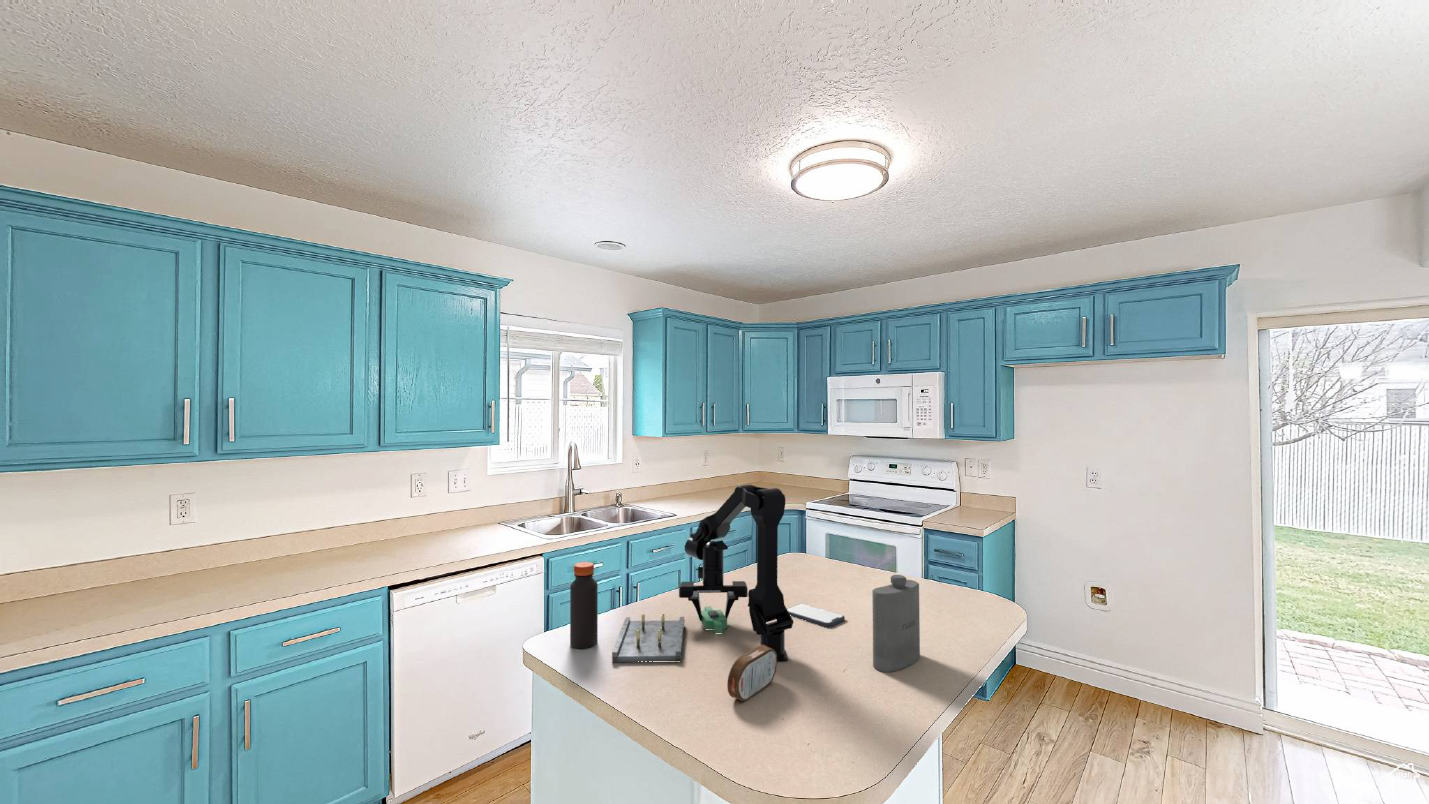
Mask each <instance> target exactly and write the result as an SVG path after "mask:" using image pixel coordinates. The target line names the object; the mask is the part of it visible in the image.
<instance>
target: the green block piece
mask: <svg viewBox="0 0 1429 804" xmlns="http://www.w3.org/2000/svg"><path fill="white" fill-rule="evenodd" d="M701 614H702V621H701V622H702V623H701V622H700V623H701V625H702V624H703V625H702V627H703V626H704V627H703V629H704V628H705V629H714V630H713V632H714V631H715V632H714V634H715V633H723V630H724V629H723V628H727V629H728V618H726V617H725V613H724V612H723V611H722V610H721V609H713V608H712V606H704V610H701ZM705 629H704V630H705Z"/></svg>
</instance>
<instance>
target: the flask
mask: <svg viewBox="0 0 1429 804" xmlns="http://www.w3.org/2000/svg"><path fill="white" fill-rule="evenodd" d="M871 595H872V667H874V669H876V670H877V671H880V672H882V673H893V672H896V671H900V670H903V669H906V668H907V667H910V666H911V665H913V664H914V663H915V662H917V661H918V660H919V659H920V657H921V656H920V655H921V650H920V649H921V647H920V646H921V641H920V638H921V637H920V636H921V634H920V633H921V631H920V629H921V628H920V622H921V621H920V583H919V582H917V581H915V580H912V579H907V577H906V576H904V575H902V574H893V575H891V576H890V584H888V585H885V586H880V587H875V588H874V589H872V594H871Z"/></svg>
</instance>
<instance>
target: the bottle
mask: <svg viewBox="0 0 1429 804" xmlns="http://www.w3.org/2000/svg"><path fill="white" fill-rule="evenodd" d="M594 566H595V563H594V562H590V561H581V562H577V563H575V564H573V576H574V577H575V579H574V580H573V581H572V582H571V584H570V587H569V588H570V589H569V593H570V594H569V595H570V598H569V599H570V601H569V603H570V604H569V607H570V609H569V610H570V611H569V612H570V613H569V614H570V615H569V619H570V621H569V622H570V623H569V632H570V634H569V638H570V639H569V644H570V646H571V647H572V648H573V649H578V650H582V649H583V650H584V649H588V648H589V649H590V648H592V647H594V646H596V645H597V643H598V639H599V638H598V631H599V630H598V627H599V626H598V623H599V622H598V617H599V616H598V612H599V610H598V600H599V599H598V594H599V593H598V591H599V590H598V589H599V588H598V587H599V586H598V582H597V580H596V579H594V578H593V576H594V573H595V572H594V571H595V567H594Z"/></svg>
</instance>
